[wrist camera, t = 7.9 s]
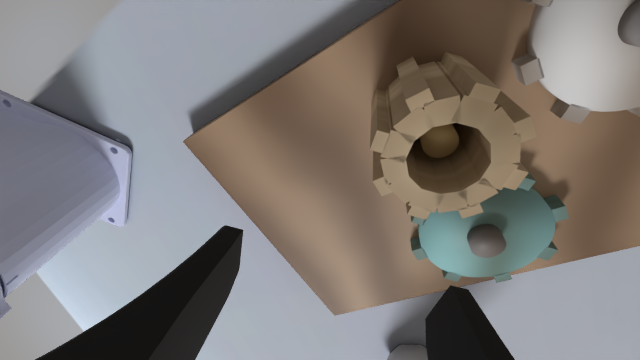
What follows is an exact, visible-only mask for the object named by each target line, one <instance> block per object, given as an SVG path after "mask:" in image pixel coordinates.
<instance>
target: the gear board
mask: <svg viewBox="0 0 640 360" xmlns="http://www.w3.org/2000/svg"><path fill="white" fill-rule="evenodd" d="M445 52H447V53H451V54H455V55H458V56H462V57H463V58H465V59H466V60H467V61H468V62H469V63H471V64H472V65H473V66H474V67H475V68H477V69H478V70H479V71H480V72H481V73H482V74H484V75H485V76H486V77H487V78H488V79H490V80H491V81H492V82H493V83H494V84H495V85H497V86H498V87H499V88H500V89H501V91H502V92H503V93H504V94H505V95H507V96H508V97H509V98H510V99H511V100H512V101H514V102H515V103H516V104H517V105H518V106H519V107H521V108H522V109H523V110H524V111H525V112H526V113H528V114H529V115H530V116H531V119H532V122H533V125H534V129H535V132H536V135H537V137H535V138H532V139H530V140H527V141H525V142H522V143H521V151H520V162H521V163H522V165H523V166H524V167H525V168H526V170H527V171H528V172H529V173H528V174H527V176H526V177H525V178H524V180H523V181H522V182H521V184H520V185H519V186H518V188H517V189H516V190H512V189H509V188H505V187H503V189H502V190H499V189H497V191H498V193H497V194H495V195H493V196H492V197H490V198H488V199H486V200H485V201H483V202H481V203H480V205H481V208H482V210H483V212H482V213H479V214H476V215H473V216H470V217H467V218H463V219H462V217H461V215H460V213H459V211H458V210H457V211H449V212H441V213H438V211H437V209H436V211H435V213H434V212H431V213H430V214H429V216H428V218H427V219H426V220H425V219H421V218H418V217H414V216H411V215H407V208H406V204H405V203H404V202H403V201H402V200H401V199H400V198H399V197H398V196H397V195H396V194H394V193H393V192H392V193H389V194H387V195H384V196H381V194H380V193H379V191H378V189H377V188H376V186H375V184H374V183H373V151H372V150H370V132H371V104H372V101H373V98H374V95H375V92H376V89H379V90H382V91H386V89H388V86H389V85H390V84H391V83H392V82H393V81H394V80H395V79H397V78H398V77H399V74H398V70H397V65H398V64H400V63H402V62H404V61H406V60H407V59H409V58H411V57H414V59H415V61H416V63H417V65H422V64H426V63H430V62H434V61H435V63H437V61H438V62H441V60H442V58H443V55H444V53H445ZM419 138H420V142H421V145H422V148H423V151H424V152H425V153H426V154H427V155H429V156H431V157H434V158H442V157H446V156H448V155H450V154H451V153H453V152H454V151H455V149H456V148H457V146H458V143H459V136H458V134H457V132H456V130H455V128H454V126H453V123H452V124H447V125H442V126H437V127H432V128H431V129H430V130H428V131H427V132H426V133H424V134H423V135H422V136H420V137H419ZM183 142H184V143H185V145H186V146H187V147H188V148H189V149H190V150H191V151H192V153H193V154H194V155H195V156H196V157H197V158H198V159H199V161H200V162H201V163H202V164H203V165H204V166H205V168H206V169H207V170H208V171H209V172H210V173H211V174H212V176H213V177H214V178H215V179H216V180H217V181H218V182H219V184H220V185H221V186H222V187H223V188H224V189H225V190H226V192H227V193H228V194H229V195H230V196H231V197H232V198H233V200H234V201H235V202H236V203H237V204H238V205H239V206H240V208H241V209H242V210H243V211H244V212H245V213H246V215H247V216H248V217H249V218H250V219H251V220H252V221H253V223H254V224H255V225H256V226H257V227H258V228H259V229H260V231H261V232H262V233H263V234H264V235H265V236H266V237H267V239H268V240H269V241H270V242H271V243H272V244H273V245H274V247H275V248H276V249H277V250H278V251H279V252H280V253H281V255H282V256H283V257H284V258H285V259H286V260H287V262H288V263H289V264H290V265H291V266H292V267H293V268H294V270H295V271H296V272H297V273H298V274H299V275H300V276H301V278H302V279H303V280H304V281H305V282H306V283H307V284H308V286H309V287H310V288H311V289H312V290H313V291H314V292H315V294H316V295H317V296H318V297H319V298H320V299H321V301H322V302H323V303H324V304H325V305H326V306H327V307H328V309H329V310H330V311H331V312H332V313H333V314H334V315H339V314H344V313H348V312H352V311H357V310H361V309H365V308H370V307H374V306H379V305H383V304H387V303H392V302H396V301H400V300H405V299H409V298H413V297H418V296H422V295H427V294H431V293H435V292H440V291H444V290H447V289H448V288H449V286H450V285H452V286H456V287H462V286H466V285H470V284H475V283H479V282H483V281H488V280H492V279H495V280H496V283H497V282H501V281H506V280H510V279H512V278H511V275H514V274H518V273H523V272H527V271H531V270H536V269H540V268H545V267H549V266H553V265H558V264H562V263H566V262H571V261H575V260H580V259H584V258H588V257H593V256H597V255H601V254H606V253H610V252H614V251H619V250H623V249H628V248H632V247H636V246H640V0H398V1H397V2H395V3H394V4H392V5H390V6H389V7H387V8H386V9H384V10H383V11H381V12H380V13H378V14H377V15H375V16H373V17H372V18H370V19H369V20H367V21H366V22H364V23H363V24H361V25H360V26H358V27H357V28H355V29H353V30H352V31H350V32H349V33H347V34H346V35H344V36H343V37H341V38H340V39H338V40H336V41H335V42H333V43H332V44H330V45H329V46H327V47H326V48H324V49H323V50H321V51H319V52H318V53H316V54H315V55H313V56H312V57H310V58H309V59H307V60H306V61H304V62H302V63H301V64H299V65H298V66H296V67H295V68H293V69H292V70H290V71H289V72H287V73H285V74H284V75H282V76H281V77H279V78H278V79H276V80H275V81H273V82H272V83H270V84H268V85H267V86H265V87H264V88H262V89H261V90H259V91H258V92H256V93H255V94H253V95H251V96H250V97H248V98H247V99H245V100H244V101H242V102H241V103H239V104H238V105H236V106H234V107H233V108H231V109H230V110H228V111H227V112H225V113H224V114H222V115H221V116H219V117H218V118H216V119H214V120H213V121H211V122H210V123H208V124H207V125H205V126H204V127H202V128H201V129H199V130H197V131H196V132H194V133H193V134H192V135H190V136H189V137H188V138H187V139H186V140H184V141H183Z"/></svg>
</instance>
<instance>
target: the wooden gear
mask: <svg viewBox="0 0 640 360" xmlns="http://www.w3.org/2000/svg"><path fill="white" fill-rule="evenodd" d="M397 70H398V74H399V77H398V78H397V79H395V80H394V81H393V82H392V83H391V84H390V85H389V86H388V89H386V91H382V90H379V89H376V92H375V95H374V98H373V101H372V104H371V132H370V150H372V151H373V183H374V184H375V186H376V188H377V189H378V191H379V193H380V194H381V196H384V195H387V194H389V193H392V192H393V193H394V194H396V195H397V196H398V197H399V198H400V199H401V200H402V201H403V202H404V203H405V204H406V208H407V215H411V216H414V217H418V218H421V219H425V220H426V219H427V218H428V216H429V214H430V213H431V212H434V213H435V211H436V209H437V211H438V213H441V212H449V211H457V210H458V211H459V213H460V215H461V217H462V219H463V218H467V217H470V216H473V215H476V214H479V213H482V212H483V210H482V208H481V205H480V203H481V202H483V201H485V200H486V199H488V198H490V197H492V196H493V195H495V194H497V193H498V191H497V189H499V190H502V189H503V187H505V188H509V189H512V190H516V189H517V188H518V186H519V185H520V184H521V182H522V181H523V180H524V178H525V177H526V176H527V174H528V173H529V172H528V171H527V170H526V168H525V167H524V166H523V165H522V163H521V162H520V151H521V143H522V142H525V141H527V140H530V139H532V138H535V137H537V135H536V132H535V129H534V125H533V122H532V119H531V116H530V115H529V114H528V113H526V112H525V111H524V110H523V109H522V108H521V107H519V106H518V105H517V104H516V103H515V102H514V101H512V100H511V99H510V98H509V97H508V96H507V95H505V94H504V93H503V92H502V91H501V89H500V88H499V87H498V86H497V85H495V84H494V83H493V82H492V81H491V80H490V79H488V78H487V77H486V76H485V75H484V74H482V73H481V72H480V71H479V70H478V69H477V68H475V67H474V66H473V65H472V64H471V63H469V62H468V61H467V60H466V59H465V58H463V57H462V56H458V55H455V54H451V53H447V52H445V53H444V55H443V58H442V60H441V62H438V61H437V63H435V61H434V62H430V63H426V64H422V65H417V63H416V61H415V59H414V57H411V58H409V59H407V60H406V61H404V62H402V63H400V64H398V65H397ZM452 123H453V126H454V128H455V130H456V132H457V134H458V136H459V143H458V146H457V148H456V149H455V151H454V152H453V153H451V154H450V155H448V156H446V157H442V158H434V157H431V156H429V155H427V154H426V153H425V152H424V151H423V148H422V145H421V142H420V138H419V137H420V136H422V135H423V134H424V133H426V132H427V131H428V130H430V129H431V128H432V127H437V126H442V125H447V124H452Z"/></svg>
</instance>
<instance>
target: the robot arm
mask: <svg viewBox="0 0 640 360" xmlns="http://www.w3.org/2000/svg"><path fill="white" fill-rule="evenodd" d="M115 148H116V149H117V150H116V149H115ZM131 160H132V152H131V150H130V149H129V148H128V147H127V146H125V145H123V144H121V143H119V142H116V141H114V140H112V139H110V138H107V137H105V136H103V135H101V134H98V133H96V132H94V131H92V130H89V129H87V128H85V127H82V126H80V125H78V124H76V123H73V122H71V121H69V120H67V119H64V118H62V117H60V116H58V115H55V114H53V113H51V112H49V111H46V110H44V109H42V108H40V107H37V106H35V105H33V104H30V103H28V102H26V101H24V100H21V99H19V98H17V97H14V96H12V95H10V94H8V93H6V92H3V91H1V90H0V319H1V318H2V317H3V316H5V315H6V314H7V313H8V312H9V311H10V310H11V307H10V306H9V305H8V304H7V302H6V301H5V299H4V298H5V297H6V296H8V295H9V294H10V293H11V292H12V291H13V290H15V289H16V288H17V287H18V286H19V285H20V284H22V283H23V282H24V281H25V280H26V279H27V278H29V277H30V276H31V275H32V274H33V273H35V272H36V271H37V270H38V269H39V268H41V267H42V266H43V265H44V264H45V263H46V262H48V261H49V260H50V259H51V258H52V257H53V256H55V255H56V254H57V253H58V252H59V251H61V250H62V249H63V248H64V247H65V246H66V245H68V244H69V243H70V242H71V241H72V240H74V239H75V238H76V237H77V236H78V235H79V234H81V233H82V232H83V231H84V230H85V229H87V228H88V227H89V226H90V225H91V224H92V223H94V222H95V221H96V220H97V219H101V220H103V221H106V222H108V223H111V224H113V225H115V226H118V227H123V226H124V225H125V224H126V223H127V211H128V198H129V185H130V173H131ZM242 237H243V230H241V229H238V228H234V227H230V226H226V225H225V226H223V227H222V228H221V229H220V230H219V231H218V232H217V233H216V234H215V235H213V236H212V237H211V238H210V239H209V240H208V241H207V242H206V243H205V244H204V245H203V246H201V247H200V248H199V249H198V250H197V251H196V252H195V253H193V254H192V255H191V256H190V257H189V258H188V259H186V260H185V261H184V262H183V263H181V264H180V265H179V266H178V267H177V268H175V269H174V270H173V271H172V272H170V273H169V274H168V275H167V276H165V277H164V278H163V279H161V280H160V281H159V282H157V283H156V284H155V285H153V286H152V287H151V288H149V289H148V290H147V291H145V292H144V293H143V294H141V295H140V296H138V297H137V298H136V299H134V300H133V301H131V302H130V303H128V304H127V305H125V306H124V307H122V308H121V309H119V310H118V311H116V312H115V313H113V314H112V315H110V316H109V317H107V318H106V319H104V320H102V321H101V322H99V323H98V324H96V325H94V326H93V327H91V328H89V329H88V330H86V331H85V332H83V333H81V334H80V335H78V336H77V337H75V338H73V339H71V340H70V341H68V342H66V343H64V344H63V345H61V346H59V347H57V348H56V349H54V350H52V351H50V352H48V353H47V354H45V355H43V356H41V357H39V358H37V359H35V360H195V359H196V357H197V355H198V353H199V351H200V349H201V348H202V346H203V344H204V342H205V340H206V338H207V336H208V334H209V332H210V331H211V329H212V327H213V325H214V323H215V321H216V319H217V317H218V315H219V313H220V312H221V310H222V308H223V306H224V304H225V302H226V300H227V298H228V296H229V294H230V291H231V289H232V286H233V284H234V281H235V279H236V276H237V274H238V271H239V266H240V256H241V247H242ZM426 349H427V357H428V360H515V359H514V358H513V356H512V355H511V353H510V352H509V351H508V349H507V348H506V346H505V345H504V343H503V342H502V340H501V339H500V337H499V336H498V334H497V333H496V331H495V330H494V328H493V327H492V325H491V323H490V322H489V320H488V319H487V317H486V316H485V314H484V313H483V311H482V310H481V308H480V307H479V305H478V304H477V302H476V301H475V299H474V298H473V296H472V295H471V293H470V292H469V290H467V289H463V288H459V287H456V286H452V285H450V286H449V288H448V289H447V291H446V292H445V293H444V295H443V296H442V297H441V299H440V300H439V301H438V303H437V304H436V305H435V307H434V308H433V309H432V311H431V312H430V313H429V315H428V316H427V317H426Z"/></svg>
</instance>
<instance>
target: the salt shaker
mask: <svg viewBox="0 0 640 360" xmlns="http://www.w3.org/2000/svg"><path fill="white" fill-rule="evenodd" d="M387 360H428V357H427V349H426V348H425V347H423V346H422V345H399V346H398V347H397V348H395V349H394V350H393V351H392V352H391V353H390V354H389V357H388V359H387Z"/></svg>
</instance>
